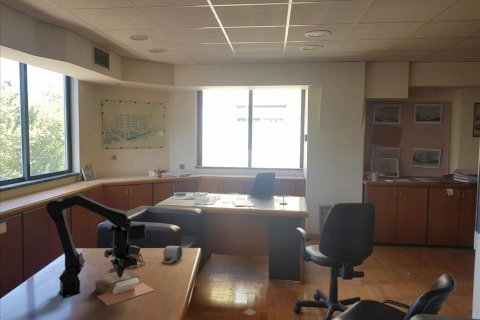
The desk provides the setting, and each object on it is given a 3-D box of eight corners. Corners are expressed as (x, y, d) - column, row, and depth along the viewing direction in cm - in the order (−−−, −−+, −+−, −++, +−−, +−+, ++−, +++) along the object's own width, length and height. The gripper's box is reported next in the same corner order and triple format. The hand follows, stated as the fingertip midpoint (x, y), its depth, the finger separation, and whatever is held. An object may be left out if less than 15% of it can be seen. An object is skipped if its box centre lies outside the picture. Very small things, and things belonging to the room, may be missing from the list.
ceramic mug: (169, 256, 188) (169, 243, 187) (182, 258, 186) (182, 244, 185) (159, 263, 178) (159, 248, 177) (173, 265, 175) (173, 250, 175)
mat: (107, 305, 131) (107, 304, 131) (97, 296, 138) (97, 296, 138) (154, 290, 145) (154, 290, 145) (142, 283, 152) (142, 282, 152)
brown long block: (102, 295, 139) (102, 285, 139) (95, 289, 144) (95, 280, 144) (138, 284, 150) (138, 275, 150) (131, 279, 155) (131, 271, 155)
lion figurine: (115, 268, 169) (115, 250, 168) (115, 264, 174) (115, 247, 173) (146, 265, 174) (146, 248, 173) (145, 262, 179) (145, 245, 178)
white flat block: (112, 290, 140) (113, 295, 139) (116, 282, 137) (118, 287, 136) (132, 284, 146) (134, 288, 145) (137, 277, 143) (139, 281, 142)
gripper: (148, 242, 144) (148, 278, 145) (127, 233, 157) (127, 266, 158) (123, 247, 136) (123, 286, 137) (103, 237, 149) (103, 272, 150)
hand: (120, 277), depth 146 cm, fingers closed
